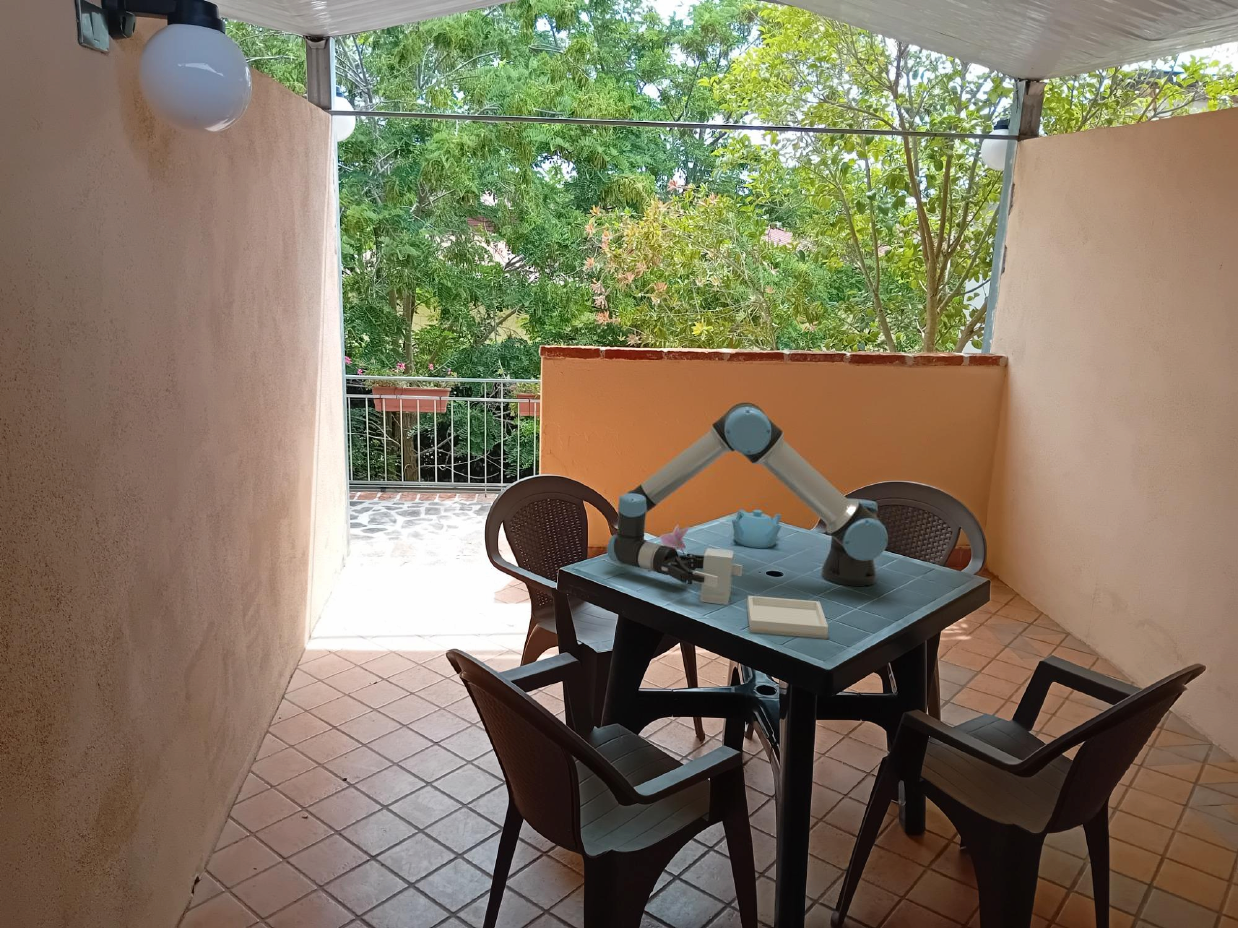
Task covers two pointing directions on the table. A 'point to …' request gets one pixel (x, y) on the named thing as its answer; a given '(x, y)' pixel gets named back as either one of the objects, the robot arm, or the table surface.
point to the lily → (675, 538)
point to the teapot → (756, 529)
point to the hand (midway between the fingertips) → (729, 576)
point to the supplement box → (718, 575)
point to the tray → (786, 617)
